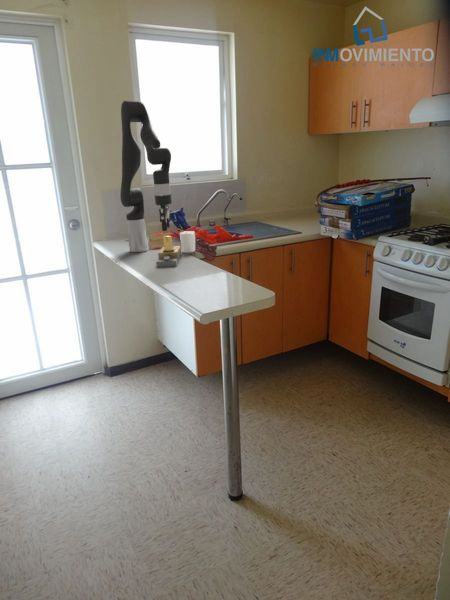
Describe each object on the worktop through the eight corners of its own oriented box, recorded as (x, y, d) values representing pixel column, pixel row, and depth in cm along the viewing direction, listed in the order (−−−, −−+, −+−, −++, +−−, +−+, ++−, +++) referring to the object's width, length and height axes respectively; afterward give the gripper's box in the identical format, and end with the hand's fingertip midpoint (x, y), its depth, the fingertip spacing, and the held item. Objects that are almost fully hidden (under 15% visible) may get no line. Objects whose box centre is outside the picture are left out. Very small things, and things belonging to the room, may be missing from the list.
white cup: (182, 253, 222) (181, 234, 219) (180, 250, 229) (178, 232, 226) (197, 251, 224) (196, 232, 221) (194, 249, 231) (193, 230, 228)
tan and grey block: (156, 267, 197) (155, 253, 195) (163, 256, 218) (162, 243, 216) (176, 266, 197) (174, 252, 195) (181, 255, 218) (180, 242, 216)
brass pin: (165, 262, 206) (162, 237, 202) (166, 260, 210) (163, 235, 206) (173, 261, 206) (170, 236, 202) (174, 259, 210) (171, 235, 206)
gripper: (157, 192, 204) (160, 226, 210) (151, 195, 191) (155, 232, 196) (172, 192, 204) (175, 226, 209) (168, 195, 191) (172, 231, 196)
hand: (166, 229), depth 203 cm, fingers open, 8 cm apart
